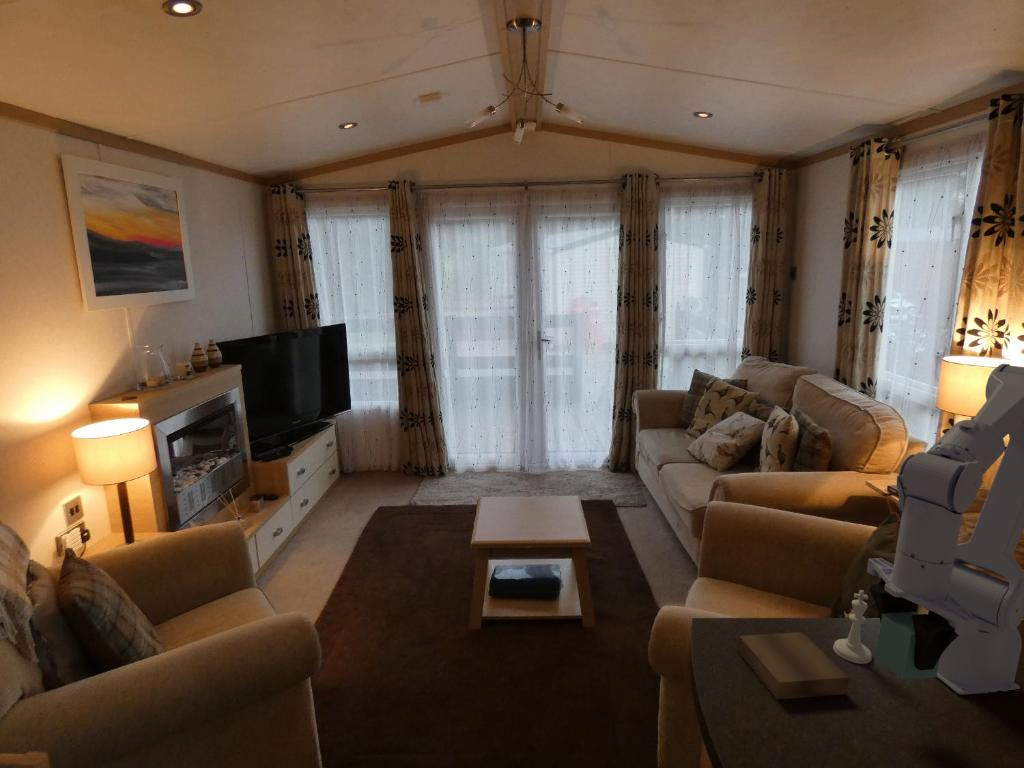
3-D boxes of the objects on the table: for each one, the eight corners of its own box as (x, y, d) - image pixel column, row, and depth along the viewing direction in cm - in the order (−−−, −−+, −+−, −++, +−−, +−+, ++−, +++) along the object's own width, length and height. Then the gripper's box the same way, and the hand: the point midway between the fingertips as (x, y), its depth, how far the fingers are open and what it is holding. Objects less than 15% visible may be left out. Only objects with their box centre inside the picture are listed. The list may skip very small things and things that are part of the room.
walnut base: (800, 647, 88) (802, 632, 88) (846, 694, 78) (849, 677, 78) (737, 651, 87) (739, 635, 86) (776, 699, 77) (779, 682, 76)
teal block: (907, 653, 76) (914, 611, 75) (936, 677, 72) (944, 632, 71) (875, 656, 76) (882, 613, 74) (903, 679, 71) (910, 634, 70)
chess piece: (877, 666, 84) (887, 602, 82) (839, 660, 85) (849, 597, 83) (864, 645, 89) (873, 584, 87) (828, 640, 90) (837, 580, 88)
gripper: (852, 528, 77) (838, 622, 80) (947, 585, 63) (926, 697, 66) (900, 526, 78) (885, 619, 81) (1004, 582, 64) (982, 693, 67)
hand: (907, 654), depth 73 cm, fingers closed on teal block, 4 cm apart
